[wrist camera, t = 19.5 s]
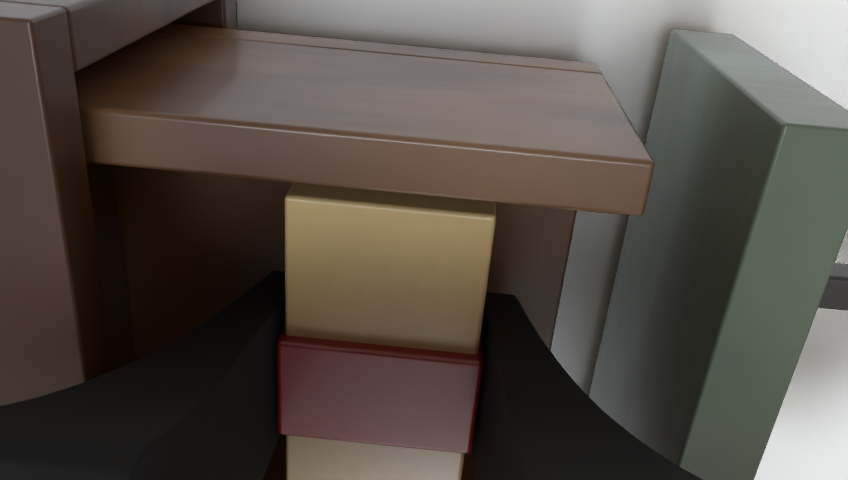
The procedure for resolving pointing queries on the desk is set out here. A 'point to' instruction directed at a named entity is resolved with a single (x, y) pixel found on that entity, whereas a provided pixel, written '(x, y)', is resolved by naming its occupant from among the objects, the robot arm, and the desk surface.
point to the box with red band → (381, 332)
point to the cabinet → (59, 183)
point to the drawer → (492, 200)
